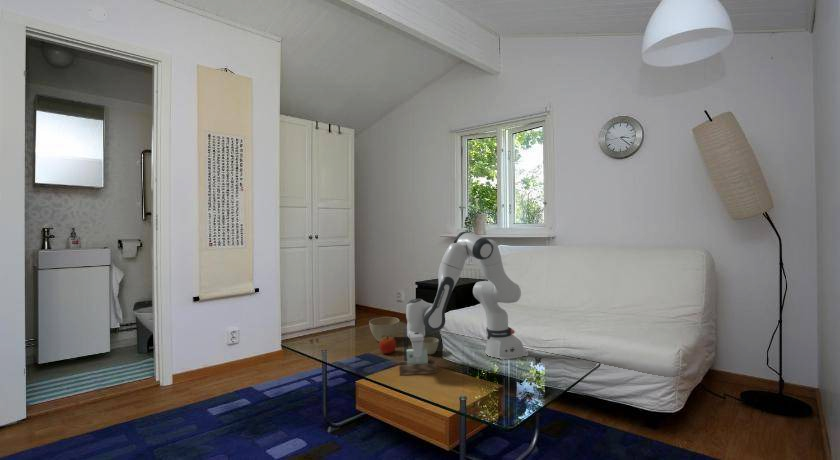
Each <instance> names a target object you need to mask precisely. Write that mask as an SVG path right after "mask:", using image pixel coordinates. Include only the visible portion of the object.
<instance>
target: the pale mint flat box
mask: <svg viewBox="0 0 840 460" xmlns="http://www.w3.org/2000/svg"><path fill="white" fill-rule="evenodd" d="M428 355H429V354H427V348H422V357H420V361H419V362H416V357H414V353H413V348H409V349H408V348H407V349H406V361H407V365H418V364H428V360H429V357H428Z"/></svg>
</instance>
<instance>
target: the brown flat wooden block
mask: <svg viewBox="0 0 840 460" xmlns="http://www.w3.org/2000/svg"><path fill="white" fill-rule="evenodd" d="M398 367H399V376H411V375H427V374H437V372H438V370H437V363H436V359H435V358H434V359H428V364H418V365H407V360H404V361H403V360H402V361H398Z"/></svg>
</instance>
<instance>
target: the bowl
mask: <svg viewBox="0 0 840 460" xmlns="http://www.w3.org/2000/svg"><path fill="white" fill-rule="evenodd" d="M439 342H440V339H438V338H436V337H424V340H423V348H427V355H434V354H435V353H436V352H437V349H438V347H439Z"/></svg>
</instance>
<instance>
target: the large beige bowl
mask: <svg viewBox="0 0 840 460" xmlns="http://www.w3.org/2000/svg"><path fill="white" fill-rule="evenodd" d="M368 322H369V329H370V332H371V334H372V335H373V337H374V339H375V340H376V341H378V343H379V342H380V340H381V339H382V338H386V336H388V337H392V338H394V339H395V338H396V336H397V333H398V331H399V327H400V319H399V318H397V317H394V316H393V317H392V316H382V317H381V316H380V317H377V318H376V317H375V318H373V319H370V320H369V321H368ZM383 335H385V337H382V336H383ZM381 337H382V338H381Z"/></svg>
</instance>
